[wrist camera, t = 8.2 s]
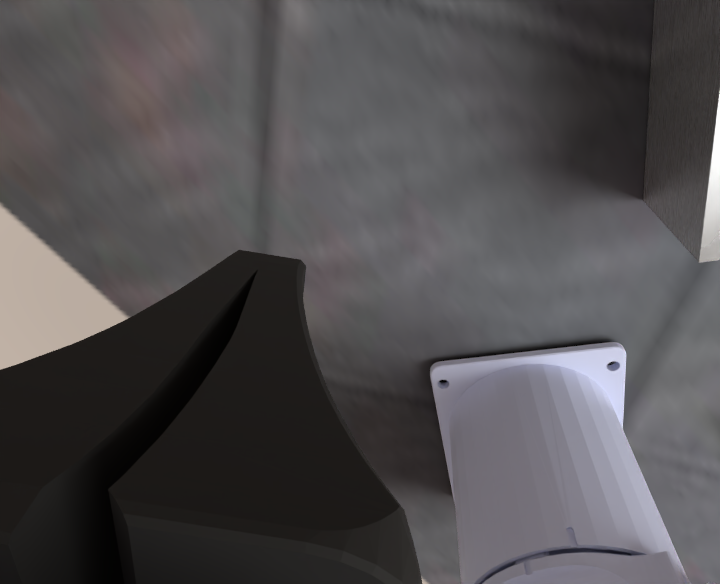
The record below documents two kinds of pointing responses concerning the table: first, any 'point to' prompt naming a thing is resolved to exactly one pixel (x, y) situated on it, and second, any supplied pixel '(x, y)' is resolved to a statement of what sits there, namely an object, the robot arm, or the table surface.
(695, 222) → the camera body
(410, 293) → the table surface
